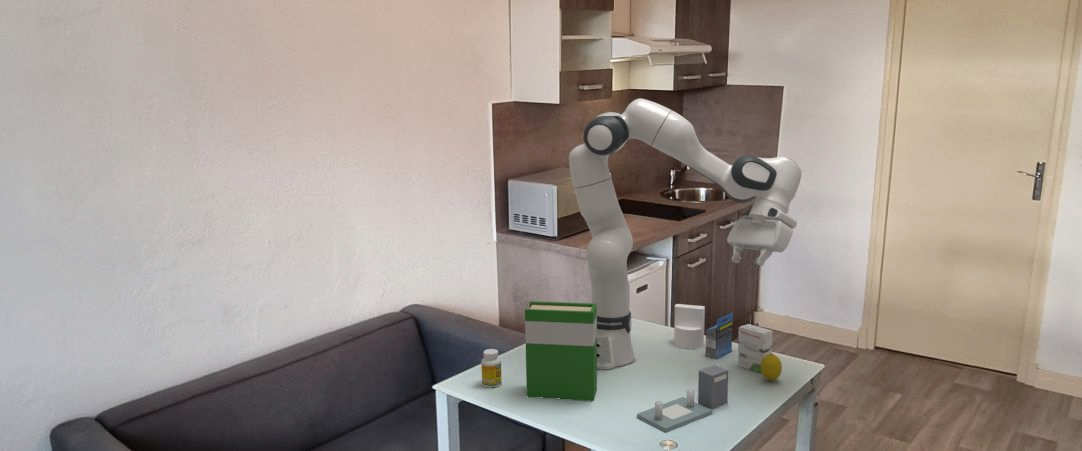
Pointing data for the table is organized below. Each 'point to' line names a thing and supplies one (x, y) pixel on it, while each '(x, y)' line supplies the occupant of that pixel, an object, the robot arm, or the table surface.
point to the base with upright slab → (689, 326)
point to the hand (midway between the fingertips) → (746, 263)
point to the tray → (674, 413)
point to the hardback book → (561, 350)
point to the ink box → (753, 346)
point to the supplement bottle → (491, 368)
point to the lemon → (771, 367)
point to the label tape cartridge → (719, 338)
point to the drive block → (713, 387)
